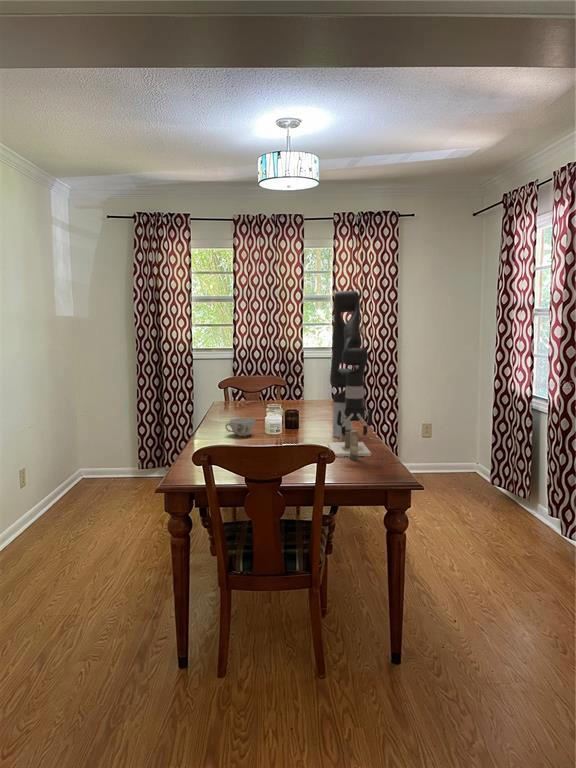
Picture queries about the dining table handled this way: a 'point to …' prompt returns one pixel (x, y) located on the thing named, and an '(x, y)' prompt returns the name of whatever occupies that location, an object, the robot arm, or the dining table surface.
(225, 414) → the dining table surface
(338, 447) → the cup bracket
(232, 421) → the teacup
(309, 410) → the dining table surface
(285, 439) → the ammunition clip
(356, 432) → the rail post
